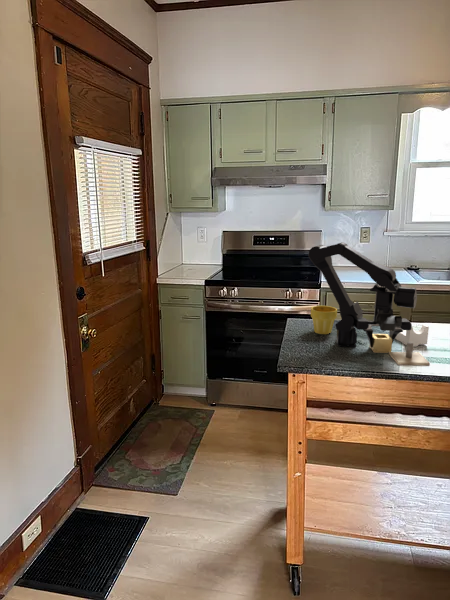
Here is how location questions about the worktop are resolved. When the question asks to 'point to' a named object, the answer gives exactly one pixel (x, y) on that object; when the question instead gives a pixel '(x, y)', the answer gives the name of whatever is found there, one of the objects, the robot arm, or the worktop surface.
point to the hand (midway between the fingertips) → (380, 347)
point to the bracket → (414, 336)
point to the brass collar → (381, 343)
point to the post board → (407, 360)
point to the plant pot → (323, 318)
